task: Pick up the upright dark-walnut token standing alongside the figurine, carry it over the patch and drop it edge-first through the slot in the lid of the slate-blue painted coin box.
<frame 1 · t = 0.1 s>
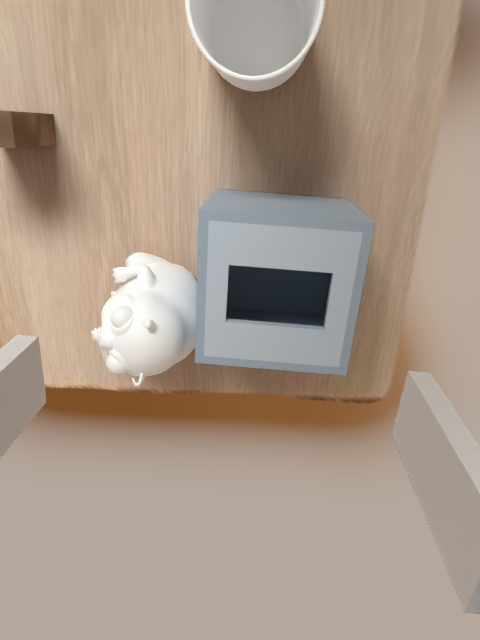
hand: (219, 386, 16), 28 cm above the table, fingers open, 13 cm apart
coin box: (275, 257, 42), on the table
cup: (261, 7, 35), on the table
figurine: (166, 297, 45), on the table
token: (26, 127, 39), on the table
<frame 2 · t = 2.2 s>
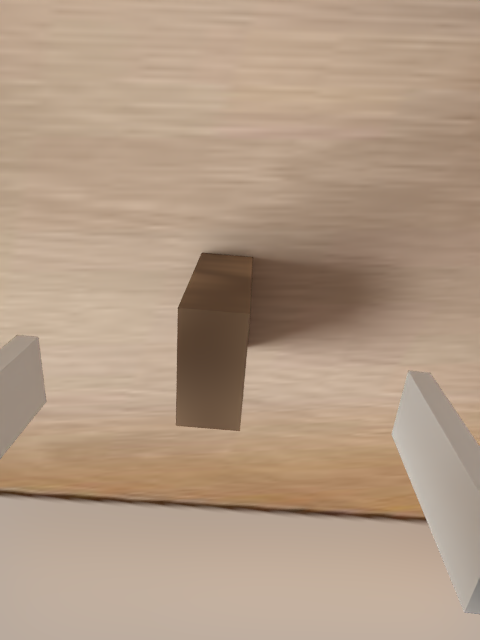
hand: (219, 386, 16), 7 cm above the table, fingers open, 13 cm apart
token: (224, 302, 23), on the table
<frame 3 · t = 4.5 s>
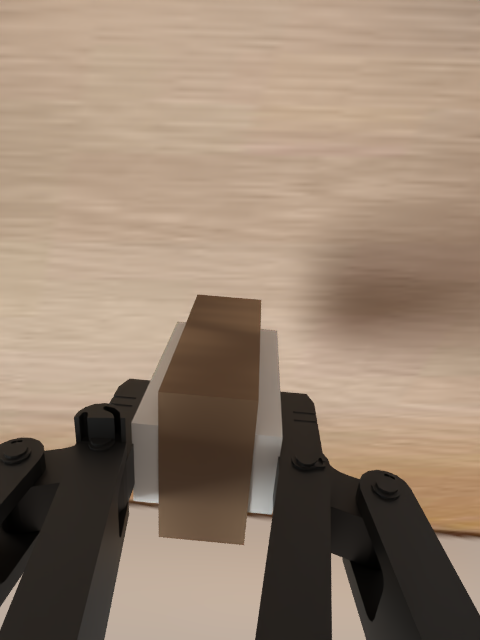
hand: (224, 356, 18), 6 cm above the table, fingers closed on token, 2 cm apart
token: (225, 353, 18), point 5 cm above the table, touching gripper
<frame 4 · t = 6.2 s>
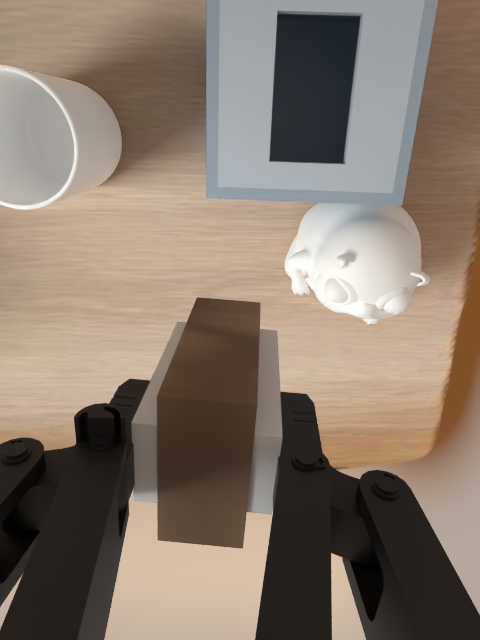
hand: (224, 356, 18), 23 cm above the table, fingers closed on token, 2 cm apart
coin box: (297, 101, 35), on the table
cup: (53, 134, 37), on the table
figurine: (345, 237, 39), on the table
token: (225, 356, 18), point 23 cm above the table, touching gripper
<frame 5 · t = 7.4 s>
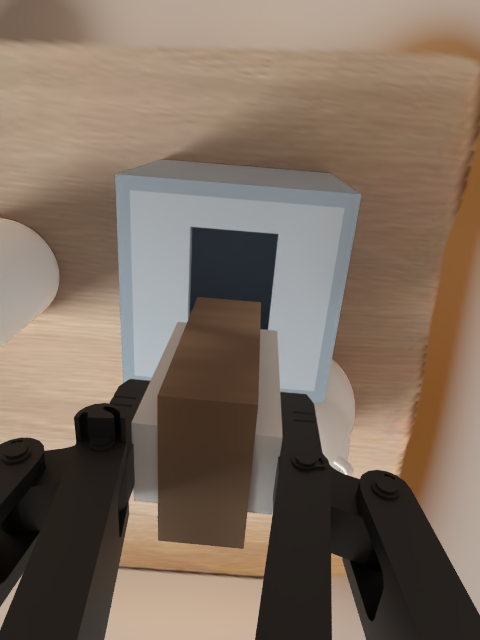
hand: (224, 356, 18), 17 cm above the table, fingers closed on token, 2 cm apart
coin box: (239, 248, 34), on the table
figurine: (289, 372, 38), on the table
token: (225, 355, 18), point 17 cm above the table, touching gripper
when the fingers open (12 cm above the table, at t = 8.1 s): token drops 11 cm, resting on coin box.
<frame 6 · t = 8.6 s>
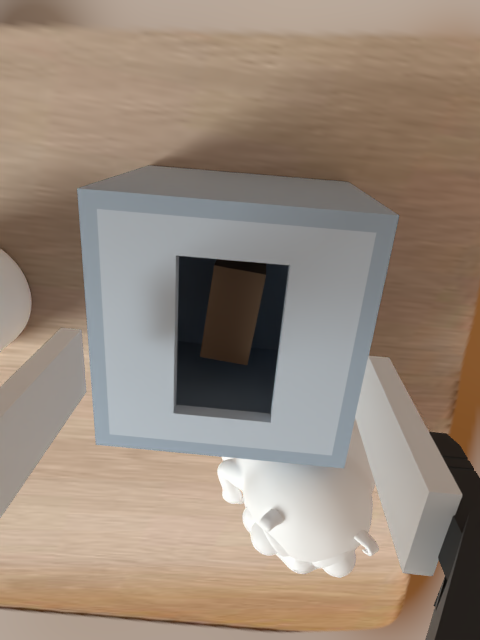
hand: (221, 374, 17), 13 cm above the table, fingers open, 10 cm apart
coin box: (240, 269, 29), on the table
figurine: (297, 409, 33), on the table
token: (239, 274, 28), point 1 cm above the table, touching coin box
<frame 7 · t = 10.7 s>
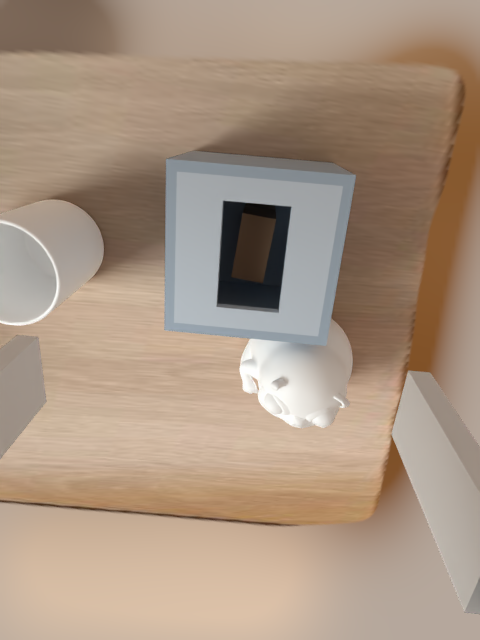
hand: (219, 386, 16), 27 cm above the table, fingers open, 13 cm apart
coin box: (256, 226, 40), on the table
cup: (45, 238, 42), on the table
figurine: (297, 335, 45), on the table
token: (255, 229, 40), point 1 cm above the table, touching coin box
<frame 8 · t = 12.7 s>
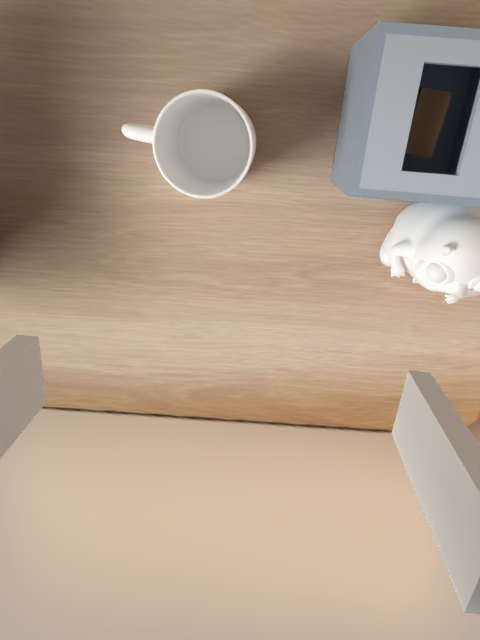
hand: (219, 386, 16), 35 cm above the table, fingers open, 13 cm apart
coin box: (401, 122, 43), on the table
cup: (198, 139, 45), on the table
figurine: (426, 234, 48), on the table
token: (402, 124, 43), point 1 cm above the table, touching coin box
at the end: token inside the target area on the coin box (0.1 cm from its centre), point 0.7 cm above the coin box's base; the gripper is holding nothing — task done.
